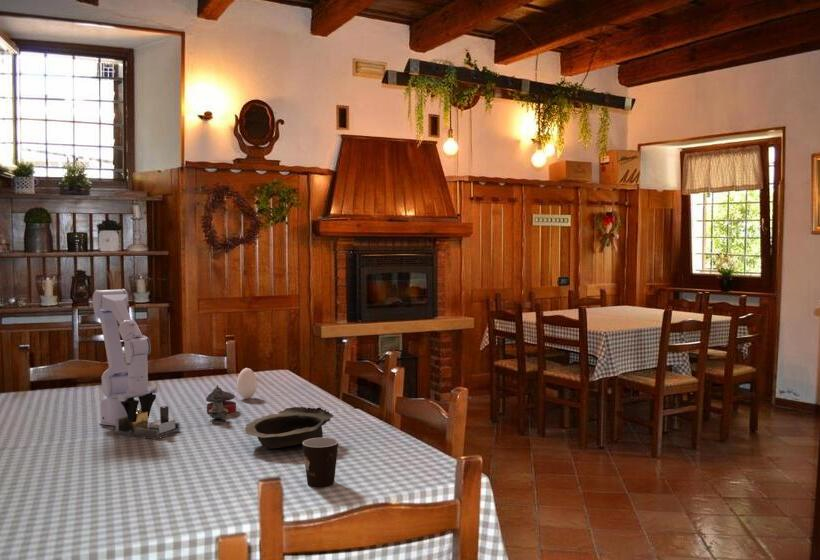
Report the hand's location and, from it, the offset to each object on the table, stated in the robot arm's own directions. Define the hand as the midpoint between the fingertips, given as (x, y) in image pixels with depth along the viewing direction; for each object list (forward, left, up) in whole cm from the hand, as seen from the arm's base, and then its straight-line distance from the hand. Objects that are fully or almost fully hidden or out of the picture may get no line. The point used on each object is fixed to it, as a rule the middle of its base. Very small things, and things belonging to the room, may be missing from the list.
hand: (138, 419), depth 218 cm
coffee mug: (+77, -23, -4) cm, 81 cm away
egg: (+3, +53, -4) cm, 53 cm away
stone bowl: (+51, +4, -4) cm, 52 cm away
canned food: (+7, +31, -4) cm, 32 cm away
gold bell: (0, 0, -3) cm, 3 cm away
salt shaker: (+14, +20, -4) cm, 25 cm away
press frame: (+2, 0, -4) cm, 4 cm away
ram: (+9, 0, -2) cm, 10 cm away
